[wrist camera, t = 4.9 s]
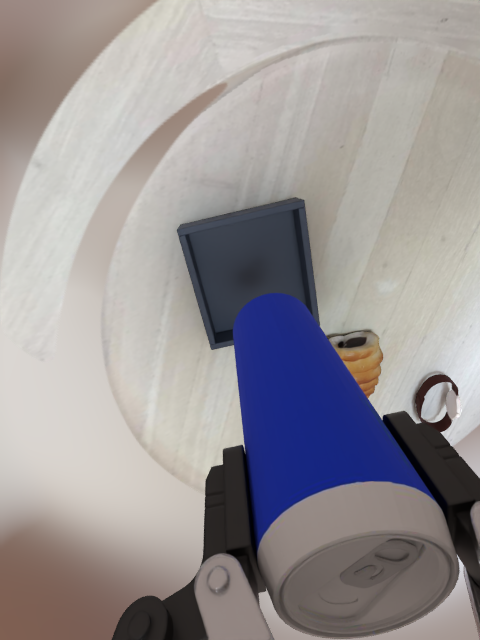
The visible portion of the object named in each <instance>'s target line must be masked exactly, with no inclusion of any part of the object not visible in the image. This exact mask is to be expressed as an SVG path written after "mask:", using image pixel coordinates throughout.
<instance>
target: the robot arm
mask: <svg viewBox="0 0 480 640" xmlns="http://www.w3.org/2000/svg"><path fill="white" fill-rule="evenodd" d="M383 422H384V424H385V425H386V427H387V428H388V430H389V431H390V433H391V434H392V436H393V437H394V439H395V440H396V442H397V443H398V445H399V446H400V448H401V449H402V451H403V452H404V454H405V455H406V457H407V458H408V460H409V461H410V463H411V464H412V466H413V467H414V469H415V470H416V472H417V473H418V475H419V476H420V478H421V479H422V481H423V482H424V484H425V485H426V487H427V488H428V490H429V491H430V493H431V494H432V496H433V497H434V499H435V500H436V502H437V503H438V505H439V506H440V508H441V509H442V511H443V514H444V516H445V519H446V522H447V525H448V529H449V532H450V535H451V539H452V542H453V545H454V548H455V551H456V554H457V555H458V557H459V558H460V560H461V561H462V563H463V565H464V577H465V581H466V585H467V589H468V593H469V597H470V601H471V606H472V609H473V614H474V618H475V622H476V626H477V630H478V634H479V638H480V478H479V477H478V476H477V475H476V474H475V473H474V472H473V470H472V469H471V468H470V467H469V466H468V464H467V463H466V462H465V461H464V460H463V459H462V457H460V456H459V455H458V453H457V452H456V450H455V449H454V448H453V447H452V446H450V443H449V442H448V441H447V440H446V439H445V438H444V436H443V435H442V434H441V433H440V432H439V431H438V430H436V429H434V428H433V427H431V426H430V425H428V424H427V423H425V422H424V423H419V424H416V423H415V422H414V421H413V419H412V418H411V417H410V416H409V414H408V413H407V412H405V411H401V412H396V413H391V414H387V415H383ZM205 495H206V497H205V518H204V550H203V560H202V564H201V566H200V569H199V570H198V572H197V574H196V576H195V577H194V579H193V580H192V581H191V582H190V583H189V584H188V585H187V586H185V587H184V588H182V589H181V590H179V591H178V592H176V593H174V594H173V595H171V596H169V597H168V598H166V599H165V600H163V601H161V600H160V599H159V598H157V597H155V596H145V597H142V598H140V599H138V600H136V601H135V602H133V603H132V604H131V605H130V606H129V607H128V608H127V609H126V610H125V612H124V613H123V615H122V617H121V618H120V620H119V622H118V624H117V627H116V630H115V632H114V635H113V638H112V640H274V638H273V636H272V633H271V631H270V629H269V627H268V624H267V622H266V620H265V618H264V616H263V613H262V611H261V609H260V606H259V595H258V593H260V592H265V591H266V586H265V583H264V581H263V578H262V576H261V573H260V571H259V567H258V563H257V557H256V547H255V538H254V529H253V519H252V510H251V500H250V491H249V481H248V472H247V462H246V454H245V451H244V447H243V445H240V446H235V447H230V448H226V449H223V465H219V466H214V467H211V470H210V472H209V474H208V476H207V479H206V487H205Z"/></svg>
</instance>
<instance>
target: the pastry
mask: <svg viewBox="0 0 480 640" xmlns="http://www.w3.org/2000/svg"><path fill="white" fill-rule="evenodd" d="M328 340H329V341H330V343H331V344H332V346H333V347H334V349H335V350H336V352H337V353H338V355H339V356H340V358H341V359H342V361H343V362H344V364H345V365H346V367H347V368H348V370H349V371H350V373H351V374H352V376H353V377H354V379H355V380H356V382H357V383H358V385H359V386H360V388H361V389H362V391H363V392H364V394H365V395H366V397H367V398H369V396H370V395H371V394H372V393H374V390H375V385H377V384H378V376H379V375H380V374H381V367H380V363H381V362H382V360H383V353H382V351H381V349H380V346H379V337H378V335H376V334H375V333H368V332H363V331H362V332H354V333H351V334H348V335H346V336H335V337H331V338H330V339H328Z"/></svg>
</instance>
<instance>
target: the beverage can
mask: <svg viewBox="0 0 480 640" xmlns="http://www.w3.org/2000/svg"><path fill="white" fill-rule="evenodd" d="M233 340H234V349H235V358H236V368H237V377H238V387H239V396H240V406H241V415H242V425H243V434H244V444H245V453H246V462H247V472H248V481H249V491H250V500H251V510H252V519H253V529H254V538H255V547H256V557H257V563H258V567H259V571H260V573H261V576H262V578H263V581H264V583H265V586H266V588H267V590H268V593H269V595H270V598H271V600H272V603H273V605H274V608H275V610H276V612H277V614H278V615H279V617H280V618H281V619H282V620H283V621H284V622H285V623H286V624H287V625H289V626H290V627H292V628H293V629H295V630H298V631H300V632H302V633H305V634H309V635H312V636H317V637H322V638H332V639H333V638H334V639H351V638H362V637H368V636H374V635H378V634H382V633H386V632H389V631H393V630H396V629H399V628H401V627H404V626H406V625H408V624H411V623H413V622H415V621H416V620H418V619H420V618H422V617H424V616H425V615H427V614H428V613H430V612H431V611H433V610H434V609H435V608H436V607H438V606H439V605H440V604H441V603H442V602H443V601H444V600H445V599H446V598H447V597H448V596H449V595H450V593H451V592H452V590H453V589H454V587H455V585H456V582H457V580H458V576H459V562H458V558H457V554H456V551H455V548H454V545H453V542H452V539H451V535H450V532H449V529H448V525H447V522H446V519H445V516H444V514H443V511H442V509H441V508H440V506H439V505H438V503H437V502H436V500H435V499H434V497H433V496H432V494H431V493H430V491H429V490H428V488H427V487H426V485H425V484H424V482H423V481H422V479H421V478H420V476H419V475H418V473H417V472H416V470H415V469H414V467H413V466H412V464H411V463H410V461H409V460H408V458H407V457H406V455H405V454H404V452H403V451H402V449H401V448H400V446H399V445H398V443H397V442H396V440H395V439H394V437H393V436H392V434H391V433H390V431H389V430H388V428H387V427H386V425H385V424H384V422H383V421H382V419H381V418H380V416H379V415H378V413H377V412H376V410H375V409H374V407H373V406H372V404H371V403H370V401H369V400H368V398H367V397H366V395H365V394H364V392H363V391H362V389H361V388H360V386H359V385H358V383H357V382H356V380H355V379H354V377H353V376H352V374H351V373H350V371H349V370H348V368H347V367H346V365H345V364H344V362H343V361H342V359H341V358H340V356H339V355H338V353H337V352H336V350H335V349H334V347H333V346H332V344H331V343H330V341H329V340H328V338H327V337H326V335H325V334H324V332H323V331H322V329H321V328H320V326H319V325H318V323H317V322H316V320H315V319H314V317H313V316H312V314H311V313H310V311H309V310H308V309H307V307H306V306H305V305H304V304H303V303H302V302H301V301H300V300H298V299H297V298H295V297H293V296H291V295H287V294H283V293H269V294H264V295H261V296H258V297H256V298H254V299H252V300H251V301H250V302H248V303H247V304H246V305H245V306H244V307H243V308H242V309H241V310H240V312H239V313H238V315H237V317H236V319H235V322H234V326H233Z"/></svg>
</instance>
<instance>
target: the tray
mask: <svg viewBox="0 0 480 640" xmlns="http://www.w3.org/2000/svg"><path fill="white" fill-rule="evenodd" d="M177 233H178V236H179V239H180V243H181V246H182V250H183V253H184V257H185V260H186V264H187V267H188V271H189V274H190V278H191V281H192V284H193V288H194V291H195V295H196V298H197V302H198V305H199V309H200V312H201V316H202V319H203V323H204V326H205V329H206V333H207V336H208V340H209V343H210V347H211V350H214V349H218V348H223V347H227V346H232V345H234V340H233V326H234V322H235V319H236V317H237V315H238V313H239V312H240V310H241V309H242V308H243V307H244V306H245V305H246V304H247V303H248V302H250V301H251V300H252V299H254V298H256V297H258V296H261V295H264V294H269V293H283V294H287V295H291V296H293V297H295V298H297V299H298V300H300V301H301V302H302V303H303V304H304V305H305V306H306V307H307V309H308V310H309V311H310V313H311V314H312V316H313V317H314V319H315V320H316V322H317V323H318V325H319V326H320V322H319V314H318V306H317V298H316V290H315V283H314V275H313V267H312V259H311V251H310V243H309V235H308V227H307V219H306V211H305V203H304V200H302V199H298V198H293V199H288V200H284V201H280V202H275V203H271V204H267V205H263V206H258V207H254V208H250V209H245V210H241V211H237V212H233V213H228V214H224V215H220V216H215V217H211V218H207V219H203V220H198V221H194V222H190V223H185V224H181V225H180V226H179V227H178V229H177Z"/></svg>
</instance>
